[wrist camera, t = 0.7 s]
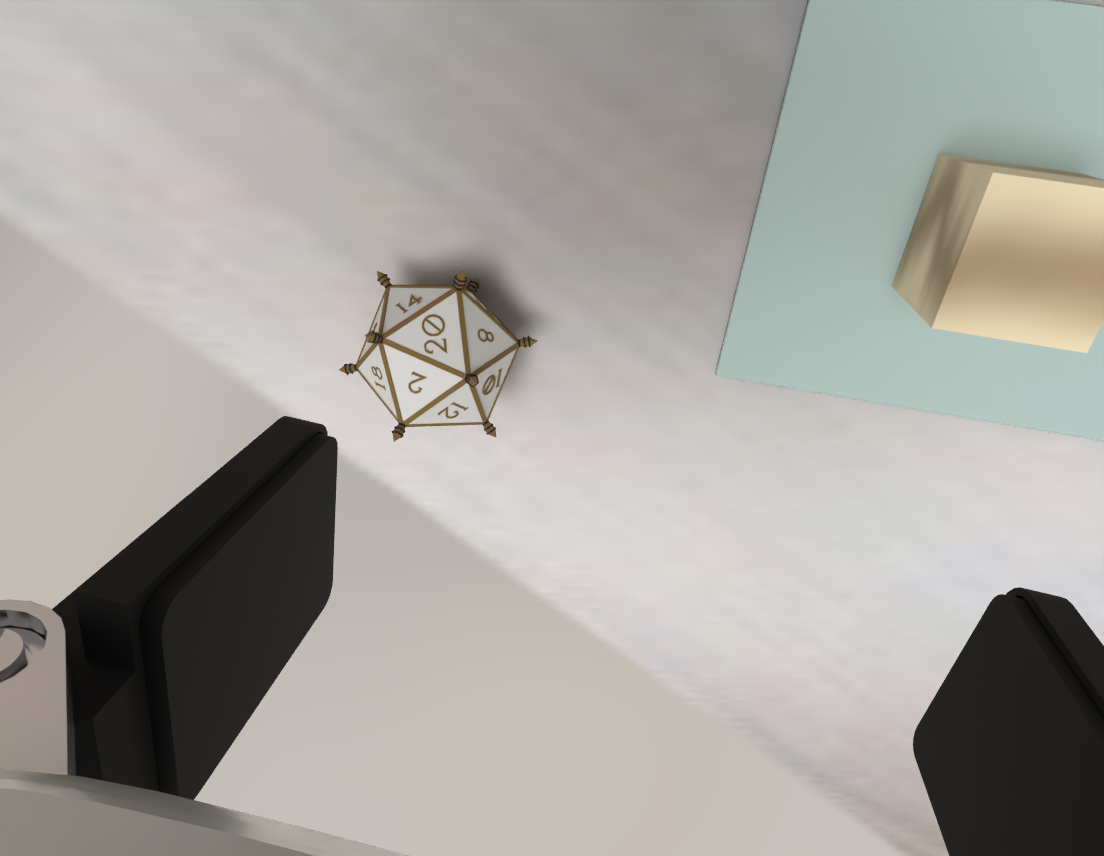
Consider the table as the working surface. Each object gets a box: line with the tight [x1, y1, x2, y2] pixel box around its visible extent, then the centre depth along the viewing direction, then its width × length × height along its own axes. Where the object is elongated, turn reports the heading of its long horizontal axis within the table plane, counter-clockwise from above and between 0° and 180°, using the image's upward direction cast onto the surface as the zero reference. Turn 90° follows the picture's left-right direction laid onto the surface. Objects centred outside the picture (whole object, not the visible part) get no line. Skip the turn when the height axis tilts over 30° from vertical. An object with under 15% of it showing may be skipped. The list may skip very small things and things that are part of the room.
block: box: [892, 154, 1104, 353], centre depth 30 cm, size 6×6×6 cm
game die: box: [339, 271, 537, 441], centre depth 35 cm, size 9×8×10 cm
